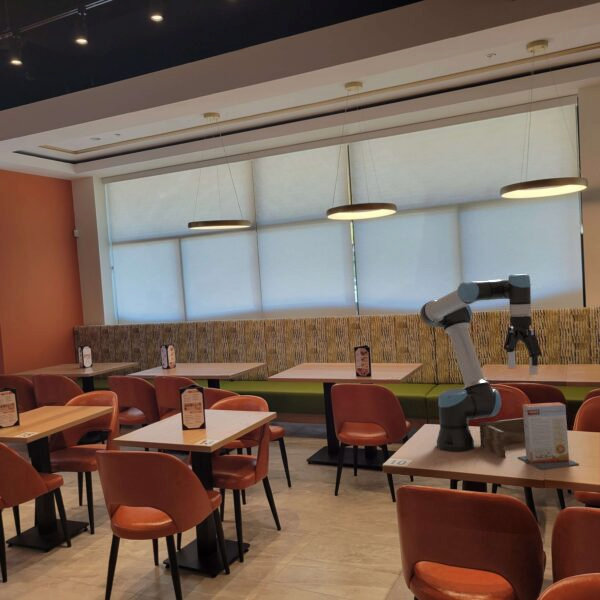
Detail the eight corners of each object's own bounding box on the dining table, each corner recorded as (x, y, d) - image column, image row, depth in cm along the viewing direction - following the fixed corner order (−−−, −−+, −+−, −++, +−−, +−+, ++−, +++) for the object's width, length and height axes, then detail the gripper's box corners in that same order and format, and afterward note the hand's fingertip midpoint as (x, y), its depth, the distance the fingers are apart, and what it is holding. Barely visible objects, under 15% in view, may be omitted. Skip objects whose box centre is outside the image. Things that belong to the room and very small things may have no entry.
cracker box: (563, 456, 217) (560, 401, 216) (569, 461, 211) (566, 404, 210) (525, 458, 218) (522, 403, 217) (530, 463, 212) (527, 406, 211)
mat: (518, 458, 220) (518, 456, 220) (553, 453, 223) (553, 452, 223) (541, 469, 205) (541, 468, 205) (578, 465, 208) (578, 463, 208)
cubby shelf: (480, 446, 238) (479, 422, 238) (541, 439, 243) (539, 416, 243) (502, 457, 221) (500, 432, 221) (566, 449, 226) (564, 424, 226)
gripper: (550, 316, 204) (552, 375, 205) (510, 312, 229) (512, 365, 230) (532, 318, 203) (534, 377, 204) (493, 314, 227) (495, 367, 228)
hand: (522, 371), depth 217 cm, fingers open, 13 cm apart
